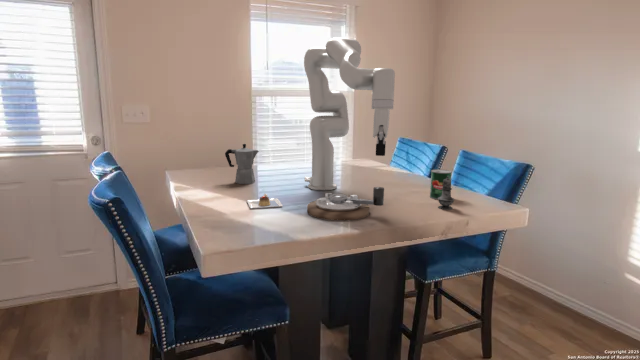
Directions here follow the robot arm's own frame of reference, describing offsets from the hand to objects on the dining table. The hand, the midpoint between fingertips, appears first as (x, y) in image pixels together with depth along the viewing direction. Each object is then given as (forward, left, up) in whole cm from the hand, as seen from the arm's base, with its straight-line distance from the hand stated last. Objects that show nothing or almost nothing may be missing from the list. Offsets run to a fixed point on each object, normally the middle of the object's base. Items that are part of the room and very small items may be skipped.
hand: (380, 153), depth 151 cm
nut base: (-11, -11, -20) cm, 25 cm away
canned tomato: (+17, +28, -20) cm, 38 cm away
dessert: (-40, -15, -21) cm, 47 cm away
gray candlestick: (+22, +12, -20) cm, 32 cm away
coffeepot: (-71, +15, -20) cm, 76 cm away
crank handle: (-7, -10, -18) cm, 22 cm away
